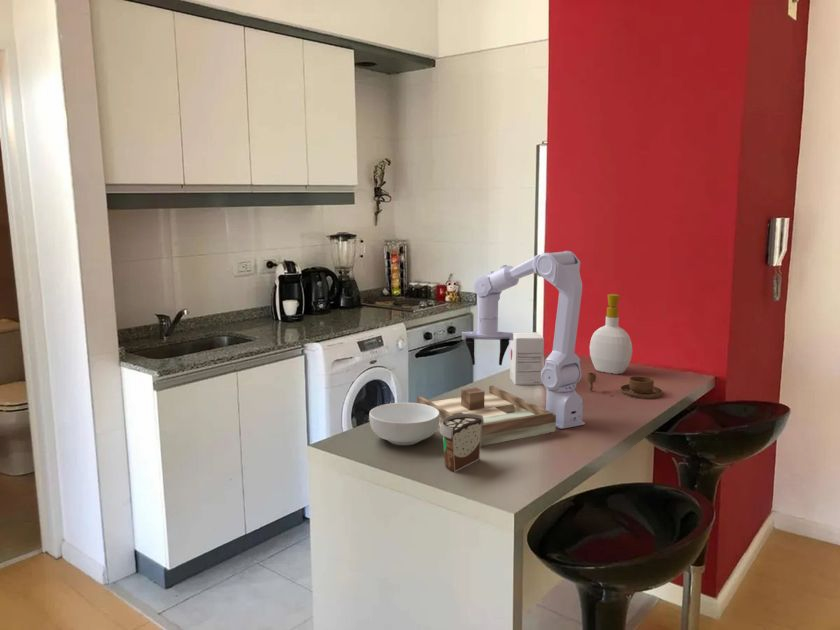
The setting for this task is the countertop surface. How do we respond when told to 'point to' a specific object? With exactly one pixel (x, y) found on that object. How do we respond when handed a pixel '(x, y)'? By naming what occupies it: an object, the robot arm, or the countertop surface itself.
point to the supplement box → (526, 358)
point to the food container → (461, 440)
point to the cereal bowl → (404, 422)
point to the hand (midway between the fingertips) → (486, 364)
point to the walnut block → (472, 398)
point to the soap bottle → (611, 343)
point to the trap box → (500, 416)
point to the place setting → (633, 386)
